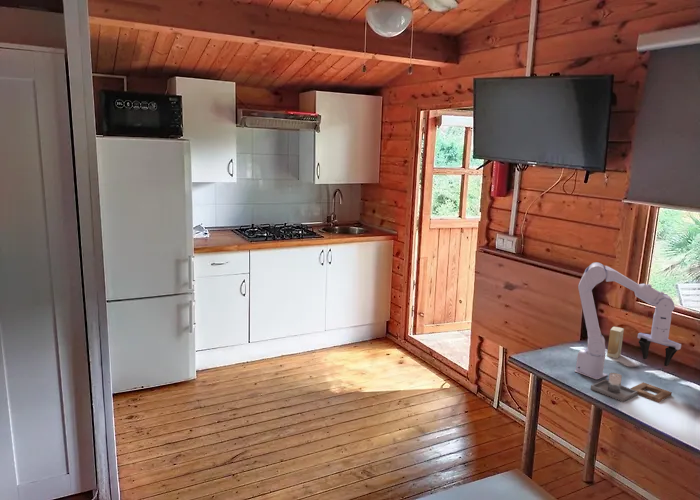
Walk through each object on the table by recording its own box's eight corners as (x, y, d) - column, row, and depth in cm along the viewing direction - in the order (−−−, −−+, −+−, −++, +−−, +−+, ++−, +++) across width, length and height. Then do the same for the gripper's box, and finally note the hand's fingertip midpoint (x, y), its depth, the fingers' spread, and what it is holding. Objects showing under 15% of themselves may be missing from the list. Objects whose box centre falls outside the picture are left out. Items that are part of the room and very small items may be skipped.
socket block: (629, 391, 193) (630, 388, 193) (642, 385, 199) (643, 382, 199) (658, 402, 185) (659, 399, 185) (671, 395, 191) (671, 392, 191)
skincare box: (610, 352, 232) (613, 325, 230) (620, 355, 230) (624, 328, 228) (606, 356, 228) (609, 329, 225) (617, 359, 225) (620, 331, 223)
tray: (590, 389, 194) (590, 385, 193) (604, 383, 200) (605, 379, 199) (623, 402, 184) (623, 398, 184) (636, 395, 190) (637, 391, 190)
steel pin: (605, 389, 193) (607, 373, 192) (613, 387, 195) (614, 372, 194) (614, 393, 189) (616, 377, 188) (622, 392, 191) (624, 376, 190)
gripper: (686, 331, 192) (681, 366, 194) (645, 320, 203) (640, 353, 206) (678, 334, 188) (672, 370, 190) (636, 323, 199) (632, 357, 201)
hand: (655, 361), depth 197 cm, fingers open, 7 cm apart
